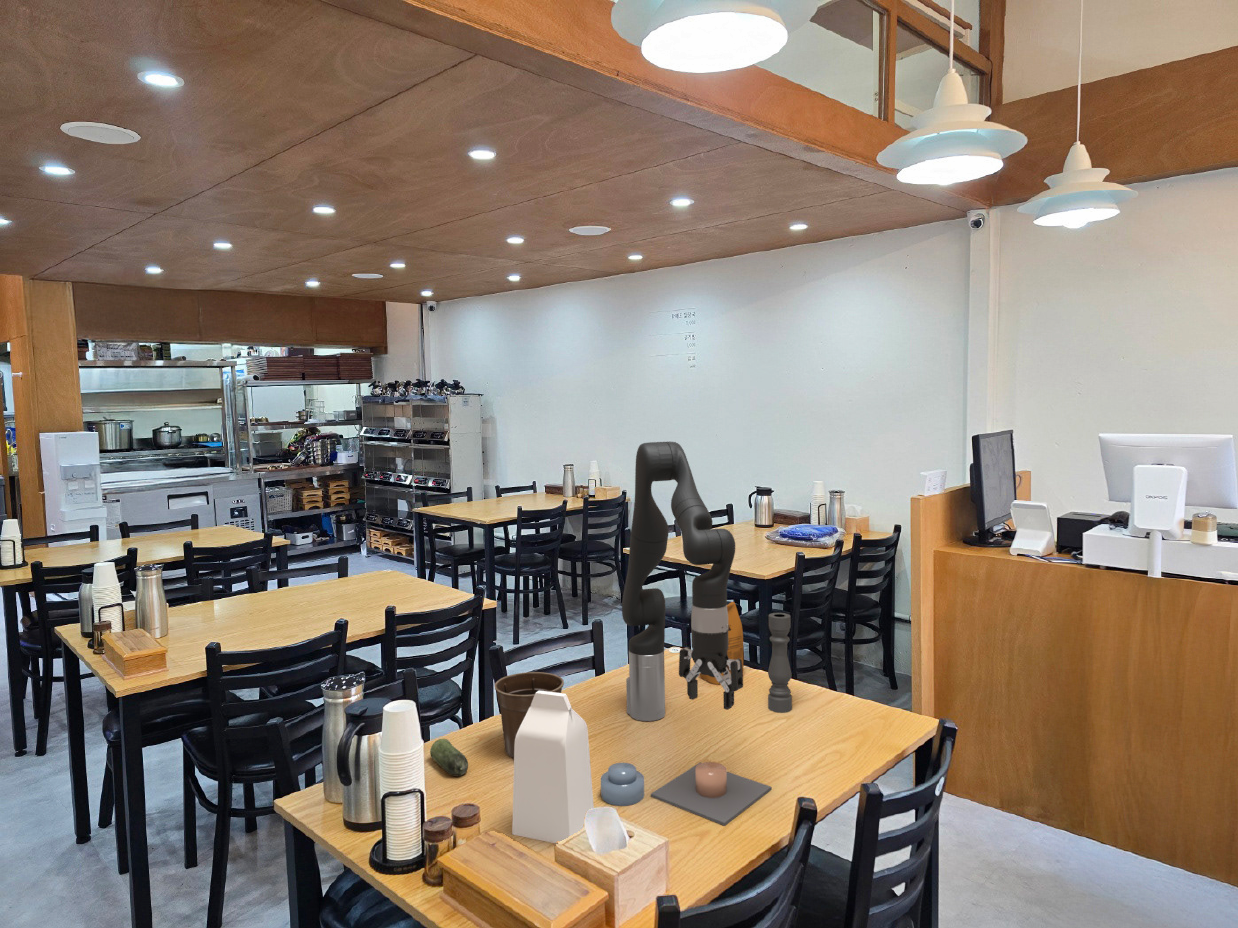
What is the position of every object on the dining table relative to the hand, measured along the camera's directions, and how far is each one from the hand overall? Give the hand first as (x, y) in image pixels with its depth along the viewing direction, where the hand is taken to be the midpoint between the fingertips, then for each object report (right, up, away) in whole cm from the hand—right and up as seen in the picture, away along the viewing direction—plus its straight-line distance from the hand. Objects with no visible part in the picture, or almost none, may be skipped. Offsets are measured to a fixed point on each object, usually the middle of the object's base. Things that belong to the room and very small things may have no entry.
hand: (710, 703), depth 158 cm
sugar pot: (-18, -19, +1) cm, 27 cm away
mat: (0, -19, +1) cm, 19 cm away
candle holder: (+24, -16, +46) cm, 54 cm away
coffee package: (+11, -14, +69) cm, 72 cm away
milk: (-31, -21, -10) cm, 39 cm away
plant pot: (-40, -19, +24) cm, 50 cm away
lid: (0, -18, +1) cm, 19 cm away
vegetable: (-57, -20, +15) cm, 62 cm away
